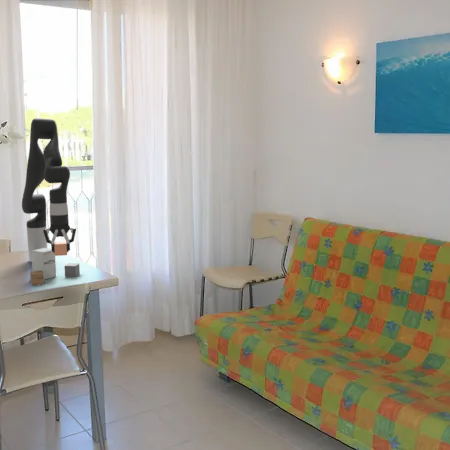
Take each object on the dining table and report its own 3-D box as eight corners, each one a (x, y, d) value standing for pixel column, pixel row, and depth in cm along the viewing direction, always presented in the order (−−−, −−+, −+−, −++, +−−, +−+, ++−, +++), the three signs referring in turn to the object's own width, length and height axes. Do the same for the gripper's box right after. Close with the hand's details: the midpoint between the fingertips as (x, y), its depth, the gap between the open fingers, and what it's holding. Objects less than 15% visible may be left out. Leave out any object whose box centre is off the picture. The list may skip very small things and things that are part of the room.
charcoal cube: (69, 273, 277) (68, 263, 276) (79, 274, 276) (79, 263, 276) (65, 276, 272) (64, 265, 271) (75, 277, 271) (75, 266, 271)
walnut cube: (30, 282, 262) (29, 271, 261) (42, 281, 264) (42, 270, 263) (31, 285, 258) (31, 274, 257) (44, 284, 260) (43, 272, 259)
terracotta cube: (55, 253, 264) (54, 242, 263) (67, 252, 265) (66, 241, 264) (54, 255, 259) (54, 244, 258) (66, 255, 260) (66, 243, 259)
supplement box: (43, 280, 266) (42, 252, 263) (32, 278, 269) (30, 250, 267) (56, 276, 272) (55, 249, 270) (45, 274, 276) (43, 247, 273)
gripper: (76, 211, 264) (78, 249, 267) (42, 212, 261) (44, 251, 264) (76, 213, 257) (77, 253, 260) (40, 215, 253) (43, 254, 256)
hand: (60, 251), depth 262 cm, fingers closed on terracotta cube, 5 cm apart
